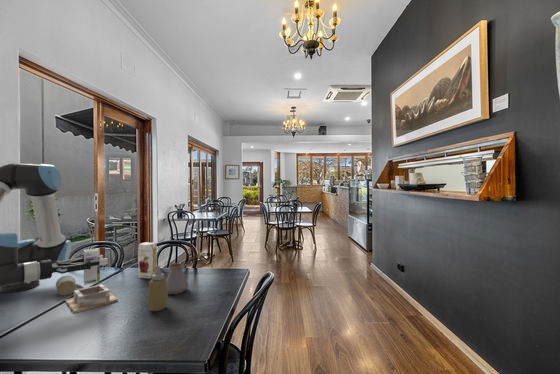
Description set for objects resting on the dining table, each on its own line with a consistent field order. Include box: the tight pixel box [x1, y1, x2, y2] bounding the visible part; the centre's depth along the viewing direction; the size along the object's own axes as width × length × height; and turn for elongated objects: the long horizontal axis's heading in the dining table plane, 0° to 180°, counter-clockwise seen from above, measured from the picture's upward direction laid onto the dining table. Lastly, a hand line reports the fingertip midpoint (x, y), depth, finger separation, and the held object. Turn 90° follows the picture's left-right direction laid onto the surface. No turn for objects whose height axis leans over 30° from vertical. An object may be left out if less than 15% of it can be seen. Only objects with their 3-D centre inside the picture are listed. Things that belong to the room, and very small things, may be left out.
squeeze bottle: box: [146, 265, 169, 312], centre depth 116 cm, size 8×8×18 cm
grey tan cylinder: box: [55, 275, 85, 297], centre depth 133 cm, size 11×8×8 cm
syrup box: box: [83, 247, 101, 286], centre depth 123 cm, size 6×6×14 cm
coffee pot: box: [165, 254, 200, 295], centre depth 140 cm, size 21×12×15 cm, turn 155°
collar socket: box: [65, 283, 119, 314], centre depth 123 cm, size 16×16×5 cm
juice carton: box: [137, 241, 158, 280], centre depth 157 cm, size 8×9×19 cm
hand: (104, 259), depth 126 cm, fingers closed on syrup box, 6 cm apart
